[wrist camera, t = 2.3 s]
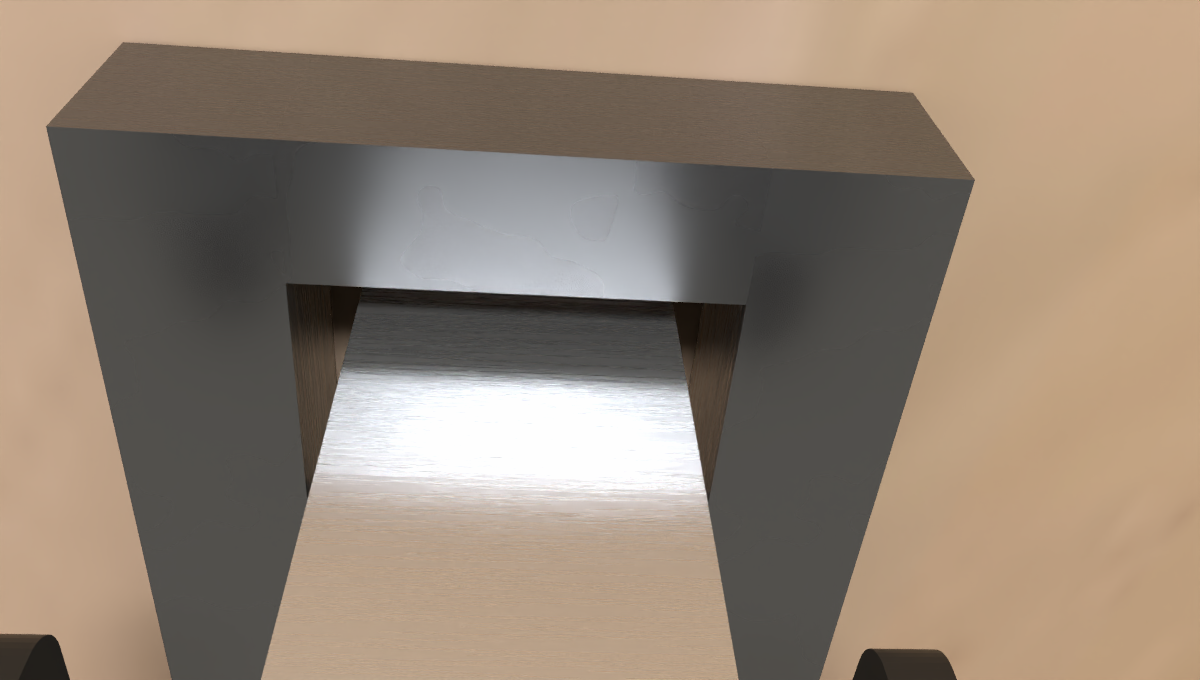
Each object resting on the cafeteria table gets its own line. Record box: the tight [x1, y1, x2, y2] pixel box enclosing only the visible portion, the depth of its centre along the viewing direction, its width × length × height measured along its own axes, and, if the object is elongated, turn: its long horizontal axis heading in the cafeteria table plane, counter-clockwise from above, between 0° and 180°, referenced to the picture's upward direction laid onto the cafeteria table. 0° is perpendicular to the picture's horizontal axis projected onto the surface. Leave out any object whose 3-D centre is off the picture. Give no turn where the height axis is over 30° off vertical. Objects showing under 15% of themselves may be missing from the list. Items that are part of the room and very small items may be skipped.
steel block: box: [261, 287, 739, 680], centre depth 13 cm, size 4×4×9 cm
